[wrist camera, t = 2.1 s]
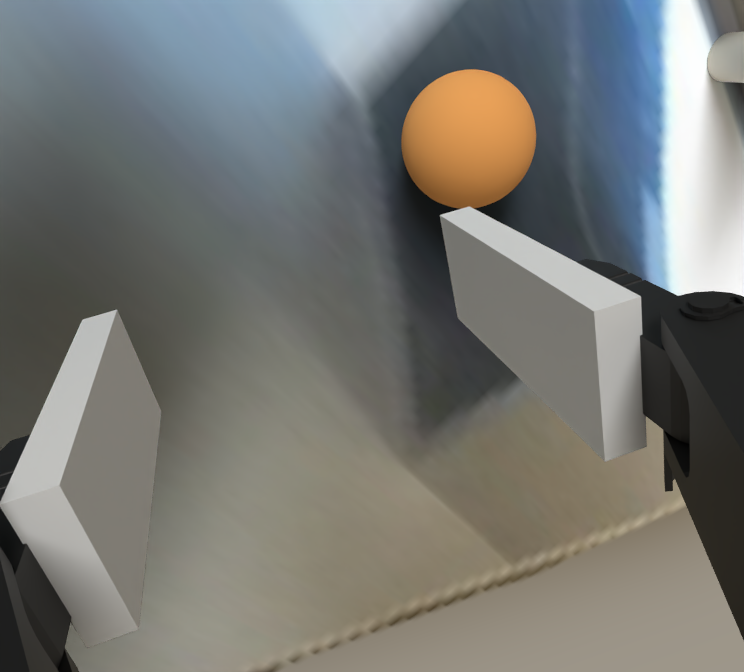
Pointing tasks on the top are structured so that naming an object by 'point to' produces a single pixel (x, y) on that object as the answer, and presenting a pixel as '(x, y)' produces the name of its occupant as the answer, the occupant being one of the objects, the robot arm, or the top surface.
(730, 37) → the pin
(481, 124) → the orange ball
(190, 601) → the top surface
